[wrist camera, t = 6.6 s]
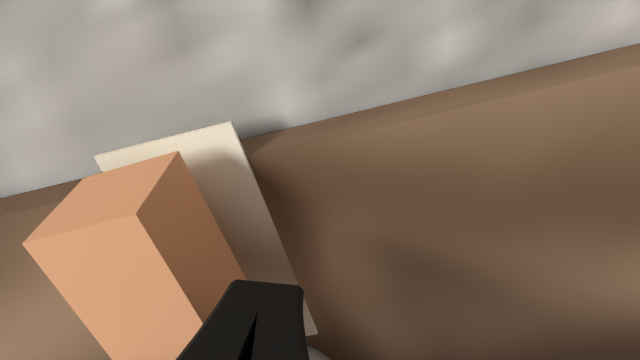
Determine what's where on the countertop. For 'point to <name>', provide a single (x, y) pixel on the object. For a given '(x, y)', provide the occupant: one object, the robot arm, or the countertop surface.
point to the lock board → (409, 223)
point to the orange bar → (137, 257)
